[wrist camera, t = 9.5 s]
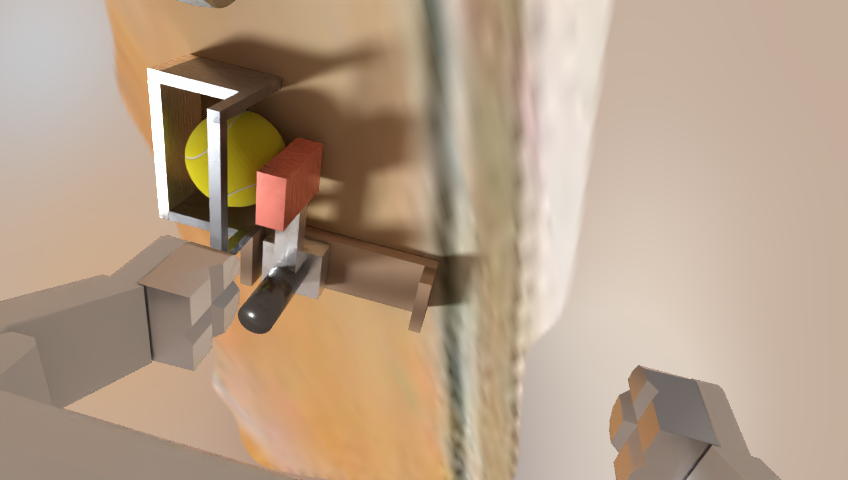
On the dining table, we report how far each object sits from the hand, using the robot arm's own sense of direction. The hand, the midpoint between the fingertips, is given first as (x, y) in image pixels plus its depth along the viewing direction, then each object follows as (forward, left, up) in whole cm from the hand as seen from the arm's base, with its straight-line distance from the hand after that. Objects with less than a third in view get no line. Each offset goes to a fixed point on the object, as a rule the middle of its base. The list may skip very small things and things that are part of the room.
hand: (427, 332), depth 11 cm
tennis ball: (+11, -17, -29) cm, 36 cm away
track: (+20, -9, -29) cm, 36 cm away
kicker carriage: (+15, -12, -28) cm, 34 cm away
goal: (+11, -19, -29) cm, 36 cm away
